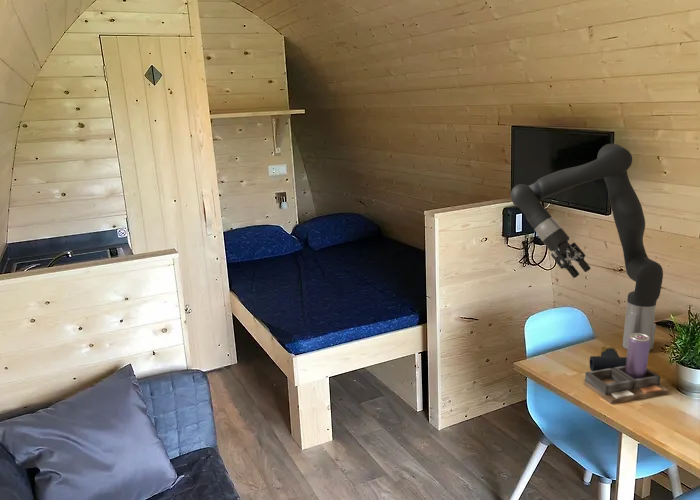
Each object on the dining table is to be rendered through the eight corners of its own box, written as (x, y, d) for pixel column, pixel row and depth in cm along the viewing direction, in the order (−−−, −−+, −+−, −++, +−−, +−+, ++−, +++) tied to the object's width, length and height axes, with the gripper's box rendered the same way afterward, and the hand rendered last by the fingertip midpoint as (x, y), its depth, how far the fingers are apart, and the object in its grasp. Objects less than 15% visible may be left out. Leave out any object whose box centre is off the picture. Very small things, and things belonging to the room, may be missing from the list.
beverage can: (644, 386, 181) (649, 341, 177) (623, 382, 184) (627, 338, 180) (646, 378, 186) (651, 335, 182) (625, 374, 189) (630, 331, 185)
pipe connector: (585, 344, 203) (631, 346, 201) (584, 358, 204) (629, 360, 202) (594, 359, 192) (642, 361, 190) (592, 374, 193) (640, 376, 191)
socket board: (637, 374, 191) (638, 363, 190) (667, 393, 179) (669, 381, 178) (583, 384, 186) (584, 372, 185) (611, 404, 174) (612, 391, 173)
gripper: (549, 231, 188) (582, 272, 183) (569, 223, 198) (600, 262, 193) (533, 244, 193) (564, 284, 188) (553, 236, 203) (583, 274, 198)
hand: (582, 273), depth 191 cm, fingers open, 8 cm apart
